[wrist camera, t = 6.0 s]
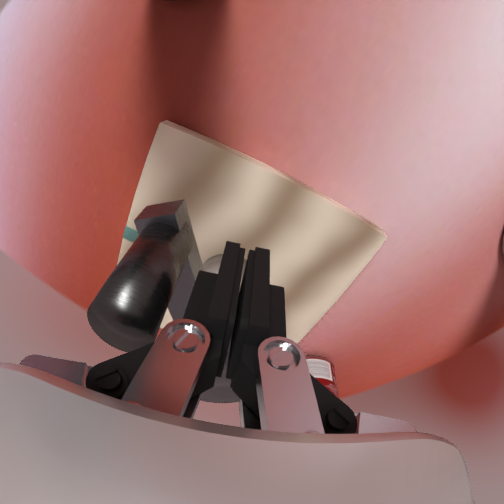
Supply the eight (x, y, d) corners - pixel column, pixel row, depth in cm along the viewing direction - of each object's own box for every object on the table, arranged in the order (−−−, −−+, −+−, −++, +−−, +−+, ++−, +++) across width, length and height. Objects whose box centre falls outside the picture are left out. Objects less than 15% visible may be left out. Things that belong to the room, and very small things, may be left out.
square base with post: (381, 229, 24) (420, 290, 16) (272, 358, 34) (272, 420, 26) (166, 119, 20) (113, 141, 13) (114, 295, 30) (82, 352, 22)
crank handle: (268, 366, 20) (265, 457, 14) (187, 367, 21) (167, 450, 15) (233, 186, 13) (200, 286, 7) (117, 206, 14) (35, 294, 8)
